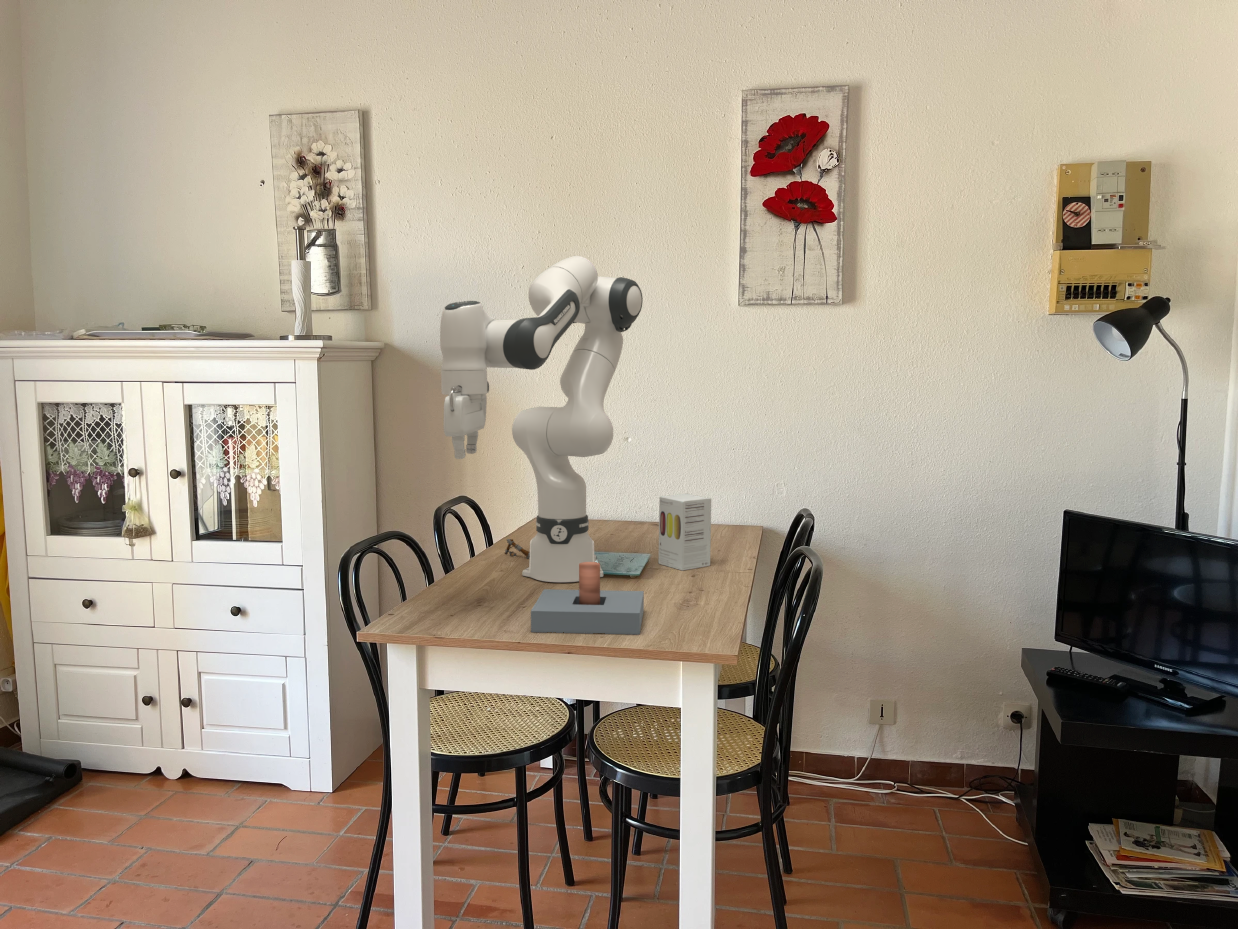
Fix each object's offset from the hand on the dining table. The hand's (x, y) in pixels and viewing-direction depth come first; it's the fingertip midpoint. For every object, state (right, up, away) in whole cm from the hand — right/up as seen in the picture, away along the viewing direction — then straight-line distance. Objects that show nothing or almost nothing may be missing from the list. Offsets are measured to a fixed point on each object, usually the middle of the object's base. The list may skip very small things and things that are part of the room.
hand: (466, 456), depth 181 cm
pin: (+24, -31, -4) cm, 39 cm away
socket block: (+24, -32, -4) cm, 40 cm away
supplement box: (+46, -26, +44) cm, 69 cm away
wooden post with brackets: (+4, -26, +53) cm, 59 cm away
